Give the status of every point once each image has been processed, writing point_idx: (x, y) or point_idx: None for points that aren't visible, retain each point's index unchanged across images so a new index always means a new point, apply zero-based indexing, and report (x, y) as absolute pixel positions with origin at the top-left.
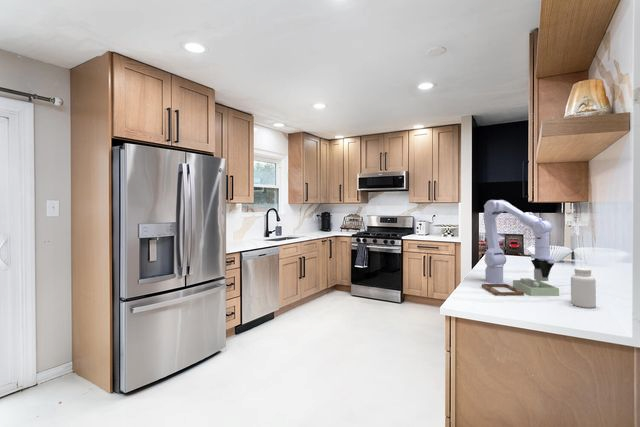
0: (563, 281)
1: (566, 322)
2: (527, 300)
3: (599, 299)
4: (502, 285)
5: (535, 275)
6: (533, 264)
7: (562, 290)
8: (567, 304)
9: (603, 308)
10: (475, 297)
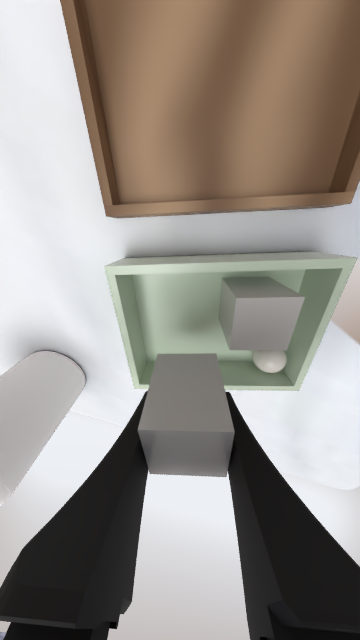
0: (337, 455)
1: None
2: (45, 202)
3: None
4: (348, 159)
5: (202, 375)
6: (290, 498)
7: None
8: (48, 338)
9: None
10: None
